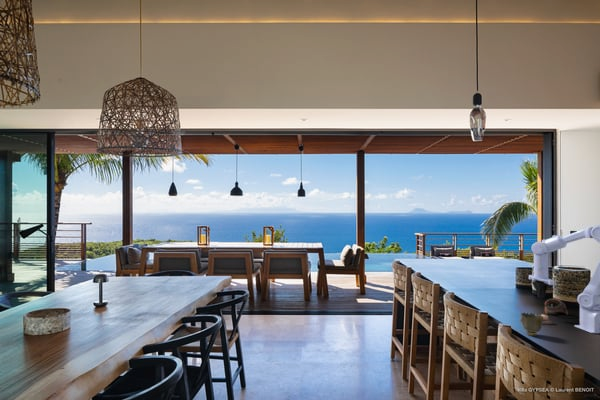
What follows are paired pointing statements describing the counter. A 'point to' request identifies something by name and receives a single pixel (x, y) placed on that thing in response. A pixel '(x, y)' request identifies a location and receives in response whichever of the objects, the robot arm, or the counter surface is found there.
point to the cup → (532, 323)
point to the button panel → (542, 321)
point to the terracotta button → (545, 317)
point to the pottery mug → (555, 306)
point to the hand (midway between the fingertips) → (541, 297)
